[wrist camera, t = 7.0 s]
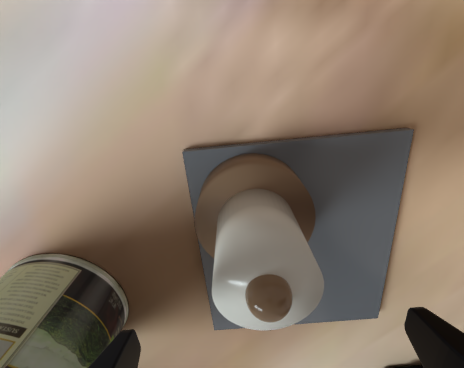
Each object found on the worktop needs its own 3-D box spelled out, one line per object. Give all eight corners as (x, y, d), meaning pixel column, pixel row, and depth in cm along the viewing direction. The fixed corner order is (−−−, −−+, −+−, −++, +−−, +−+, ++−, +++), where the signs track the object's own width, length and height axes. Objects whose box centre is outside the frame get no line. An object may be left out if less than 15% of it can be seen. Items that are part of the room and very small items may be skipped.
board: (374, 311, 22) (377, 318, 21) (214, 323, 22) (214, 330, 21) (407, 127, 15) (413, 129, 15) (184, 149, 16) (182, 151, 15)
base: (302, 242, 18) (313, 266, 16) (206, 250, 18) (203, 275, 16) (304, 148, 15) (318, 160, 13) (191, 158, 15) (184, 172, 13)
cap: (293, 251, 15) (331, 352, 9) (221, 256, 15) (217, 360, 10) (293, 185, 13) (340, 261, 8) (212, 192, 13) (201, 273, 8)
